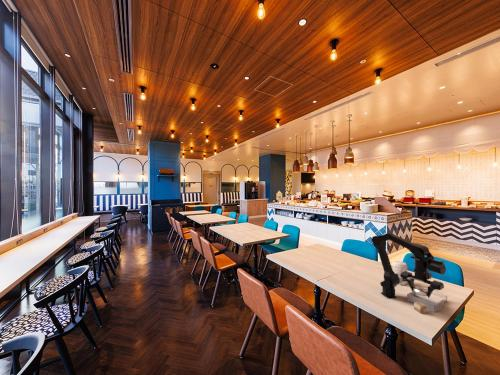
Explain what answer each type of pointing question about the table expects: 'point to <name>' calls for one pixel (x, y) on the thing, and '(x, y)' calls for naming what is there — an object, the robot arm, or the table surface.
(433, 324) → the table surface
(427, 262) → the robot arm
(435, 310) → the housing
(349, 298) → the table surface
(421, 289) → the disc
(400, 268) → the supplement can
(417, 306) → the pedestal
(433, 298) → the tray
